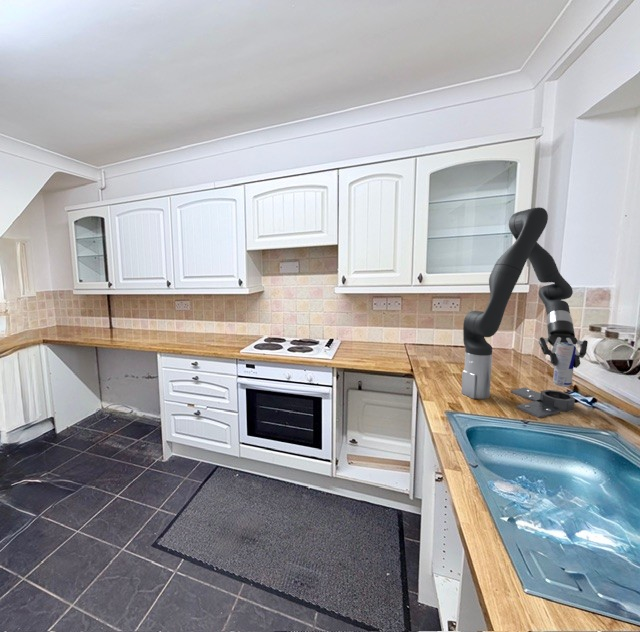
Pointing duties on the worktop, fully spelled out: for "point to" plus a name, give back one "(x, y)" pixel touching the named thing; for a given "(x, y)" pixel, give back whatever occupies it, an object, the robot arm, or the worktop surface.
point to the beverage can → (564, 364)
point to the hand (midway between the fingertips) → (565, 365)
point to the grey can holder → (545, 402)
